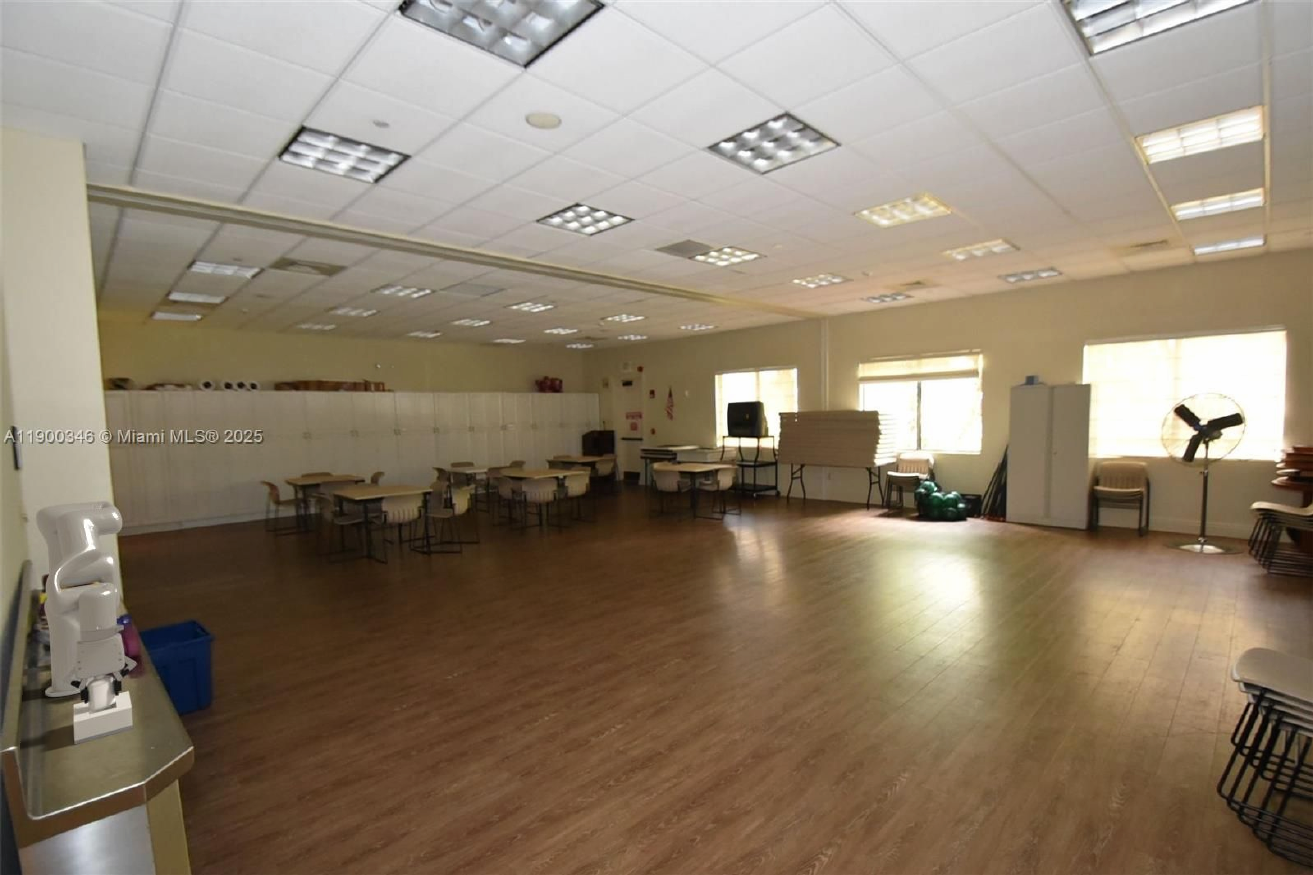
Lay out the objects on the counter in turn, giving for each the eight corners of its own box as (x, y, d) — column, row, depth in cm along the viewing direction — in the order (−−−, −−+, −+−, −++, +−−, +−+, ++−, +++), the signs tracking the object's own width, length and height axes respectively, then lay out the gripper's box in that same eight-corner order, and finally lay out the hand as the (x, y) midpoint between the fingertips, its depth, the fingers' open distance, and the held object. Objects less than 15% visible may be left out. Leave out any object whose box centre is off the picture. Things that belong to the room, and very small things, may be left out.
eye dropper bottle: (116, 705, 167) (113, 664, 166) (89, 713, 163) (85, 671, 162) (115, 699, 170) (112, 659, 169) (88, 707, 166) (84, 666, 165)
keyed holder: (74, 725, 168) (73, 704, 168) (129, 711, 176) (128, 691, 176) (74, 744, 158) (73, 722, 158) (132, 728, 166) (131, 707, 166)
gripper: (138, 623, 174) (141, 684, 175) (55, 638, 162) (58, 704, 163) (140, 629, 169) (143, 692, 169) (54, 645, 157) (57, 713, 158)
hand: (101, 697), depth 166 cm, fingers closed on eye dropper bottle, 5 cm apart
